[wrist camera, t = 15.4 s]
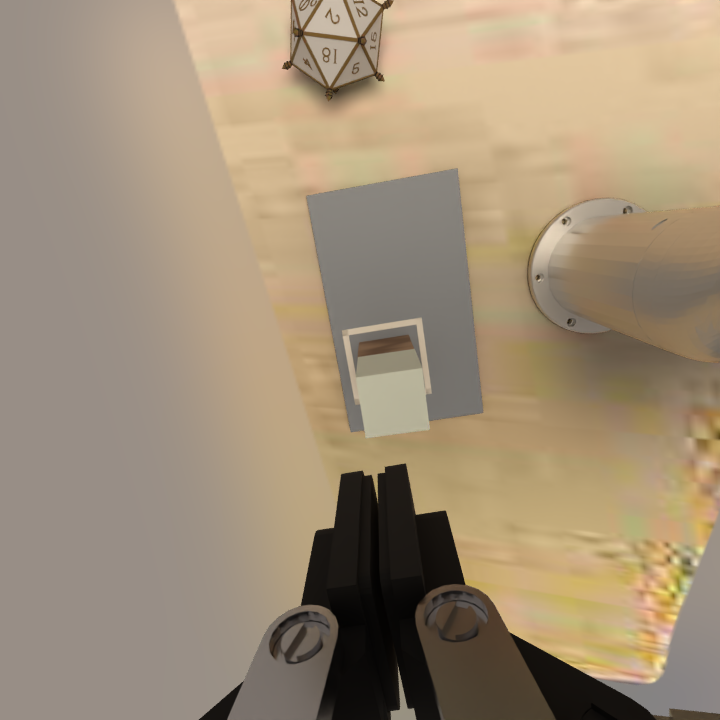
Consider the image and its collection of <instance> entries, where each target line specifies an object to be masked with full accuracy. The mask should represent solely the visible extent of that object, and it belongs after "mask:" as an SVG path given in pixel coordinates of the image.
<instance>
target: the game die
mask: <svg viewBox="0 0 720 720" xmlns="http://www.w3.org/2000/svg"><path fill="white" fill-rule="evenodd" d="M392 3H393V0H387V1H384V3H383V4H382V5H381V4H380V3H378V2H377V1H375V0H291V52H290V61H289V62H288V61H287V62H286V63H284V65H283V67H282V69H287V70H288V69H289V68H291V66H292V65H293V66H295V67H296V68H298V69H299V70H300V71H302V72H303V73H305V74H306V75H308V76H309V77H310V78H312V79H313V80H315V81H316V82H318V83H319V84H320V85H322V86H323V87H325V88H326V89H327V92H326V95H325V96H326V97H327V99H328V101H329V100H330V99H331V98H332V94H333V93H332V90H333V92H334V93H335V94H336V92H337V91H338V90H339V89H338V88H340V87H343V86H346V85H348V84H351V83H354V82H357V81H360V80H363V79H365V78H368V77H371V76H376V79H378V80H379V81H384V78H383V75H381V73H378V72H377V67H378V57H379V48H380V38H381V28H382V19H383V10H384V9H388V8H389V7H390V6H391V5H392Z"/></svg>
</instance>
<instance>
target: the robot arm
mask: <svg viewBox="0 0 720 720" xmlns="http://www.w3.org/2000/svg"><path fill="white" fill-rule="evenodd" d="M623 209H625V213H624V214H623ZM562 219H564V220H565V223H564V224H562ZM536 275H538V276H539V278H538V279H537V280H535V276H536ZM528 282H529V287H530V291H531V295H532V297H533V299H534V301H535V304H536V305H537V307H538V308H539V309H540V311H541V312H542V313H543V314H544V315H545V316H546V317H547V318H548V319H549V320H550V321H552V322H553V323H555V324H557V325H559V326H560V327H562V328H565V329H567V330H570V331H574V332H578V333H590V334H595V333H601V332H607V331H610V330H615V331H617V332H620V333H622V334H625V335H627V336H630V337H633V338H635V339H638V340H640V341H643V342H645V343H648V344H650V345H653V346H656V347H658V348H661V349H663V350H666V351H669V352H671V353H674V354H677V355H680V356H682V357H685V358H689V359H693V360H697V361H703V362H714V363H720V206H713V207H702V208H690V209H678V210H666V211H654V212H647V211H645V210H644V209H642V208H641V207H639V206H638V205H636V204H634V203H631V202H629V201H626V200H623V199H615V198H599V199H592V200H587V201H584V202H581V203H578V204H576V205H573V206H571V207H569V208H568V209H566V210H564V211H563V212H561V213H560V214H559V215H557V216H556V217H555V218H554V219H553V220H552V221H550V222H549V224H548V225H547V226H546V227H545V229H544V230H543V231H542V232H541V234H540V236H539V237H538V239H537V241H536V243H535V244H534V247H533V250H532V253H531V256H530V260H529V267H528ZM568 319H570V322H569V323H567V321H568ZM397 662H398V663H397ZM398 667H399V671H400V676H401V680H402V685H403V689H404V694H405V698H406V703H407V707H408V708H409V709H411V708H414V710H415V715H416V719H417V720H720V714H716V713H707V712H698V711H688V710H679V709H669V716H670V717H666V716H657V715H652V714H650V712H649V711H648V710H647V709H645V708H644V707H642V706H641V705H640V704H638V703H637V702H635V701H634V700H632V699H631V698H629V697H627V696H625V695H624V694H622V693H620V692H618V691H616V690H615V689H613V688H611V687H609V686H607V685H605V684H603V683H602V682H600V681H598V680H596V679H594V678H592V677H591V676H589V675H587V674H585V673H583V672H581V671H580V670H578V669H576V668H574V667H572V666H570V665H569V664H567V663H565V662H563V661H561V660H559V659H558V658H556V657H554V656H552V655H550V654H548V653H547V652H545V651H543V650H541V649H539V648H537V647H536V646H534V645H532V644H530V643H528V642H526V641H525V640H523V639H521V638H519V637H517V636H515V635H513V634H512V633H510V632H509V631H508V629H507V627H506V625H505V624H504V622H503V620H502V618H501V616H500V614H499V612H498V610H497V609H496V607H495V605H494V603H493V602H492V601H491V600H490V598H489V597H488V596H487V595H486V594H484V593H483V592H481V591H480V590H479V589H476V588H473V587H470V586H468V585H465V581H464V577H463V573H462V570H461V566H460V562H459V558H458V555H457V551H456V547H455V543H454V539H453V536H452V532H451V528H450V524H449V520H448V517H447V513H446V511H439V512H432V513H426V514H419V515H416V514H415V509H414V503H413V498H412V493H411V488H410V482H409V477H408V472H407V467H406V464H400V465H394V466H388V467H385V473H380V474H378V501H377V497H376V492H375V487H374V482H373V478H372V475H368V476H364V473H363V471H357V472H351V473H345V474H341V480H340V487H339V495H338V502H337V510H336V517H335V525H334V528H329V529H323V530H317V531H316V533H315V536H314V541H313V546H312V551H311V556H310V562H309V567H308V572H307V577H306V582H305V587H304V593H303V598H302V603H301V606H299V607H297V608H294V609H291V610H289V611H287V612H286V613H284V614H282V615H281V616H279V617H278V618H277V619H276V620H275V621H274V622H273V623H272V624H271V625H270V626H269V628H268V629H267V631H266V633H265V634H264V636H263V638H262V641H261V643H260V645H259V647H258V650H257V652H256V654H255V656H254V659H253V661H252V664H251V666H250V668H249V670H248V673H247V675H246V677H245V679H244V681H243V682H242V683H241V684H240V685H238V686H237V687H236V688H235V689H234V690H233V691H231V692H230V693H229V694H228V695H227V696H226V697H225V698H223V699H222V700H221V701H220V702H219V703H218V704H216V706H214V707H213V708H212V709H211V710H210V711H209V712H207V713H206V714H205V715H204V716H203V717H202V718H200V719H199V720H391V713H390V711H394V710H399V709H400V698H399V681H398Z"/></svg>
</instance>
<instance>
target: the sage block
mask: <svg viewBox="0 0 720 720" xmlns="http://www.w3.org/2000/svg"><path fill="white" fill-rule="evenodd" d="M356 382H357V388H358V394H359V400H360V406H361V412H362V418H363V424H364V430H365V436H366V438H372V437H379V436H387V435H394V434H402V433H409V432H417V431H424V430H430V426H429V418H428V410H427V402H426V394H425V386H424V378H423V370H422V366H421V364H420V361H419V359H418V356H417V353H416V351H415V349H410V350H403V351H396V352H389V353H382V354H376V355H369V356H362V357H358V361H357V371H356Z"/></svg>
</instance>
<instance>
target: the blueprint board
mask: <svg viewBox="0 0 720 720" xmlns="http://www.w3.org/2000/svg"><path fill="white" fill-rule="evenodd" d="M306 197H307V202H308V207H309V213H310V218H311V223H312V229H313V234H314V239H315V245H316V250H317V255H318V261H319V266H320V271H321V277H322V282H323V287H324V292H325V298H326V303H327V308H328V314H329V319H330V324H331V330H332V335H333V340H334V346H335V351H336V356H337V362H338V367H339V372H340V378H341V383H342V388H343V394H344V399H345V404H346V410H347V415H348V420H349V426H350V431H351V432H357V431H364V424H363V418H362V412H361V406H360V400H359V394H358V388H357V382H356V371H357V361H358V358H357V357H358V348H359V342H365V341H371V340H377V339H384V338H390V337H396V336H402V335H409V337H410V340H411V342H412V345H413V347H414V349H415V351H416V353H417V356H418V359H419V361H420V364H421V366H422V370H423V378H424V386H425V394H426V402H427V410H428V418H429V421H432V420H439V419H445V418H452V417H459V416H466V415H473V414H480V413H483V405H482V396H481V386H480V377H479V367H478V358H477V348H476V339H475V329H474V320H473V310H472V301H471V291H470V282H469V272H468V263H467V253H466V244H465V234H464V225H463V215H462V206H461V196H460V187H459V177H458V168H457V169H452V170H446V171H441V172H435V173H430V174H424V175H419V176H413V177H408V178H402V179H397V180H391V181H386V182H380V183H375V184H369V185H364V186H358V187H352V188H347V189H341V190H336V191H330V192H325V193H319V194H314V195H308V196H306Z"/></svg>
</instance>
